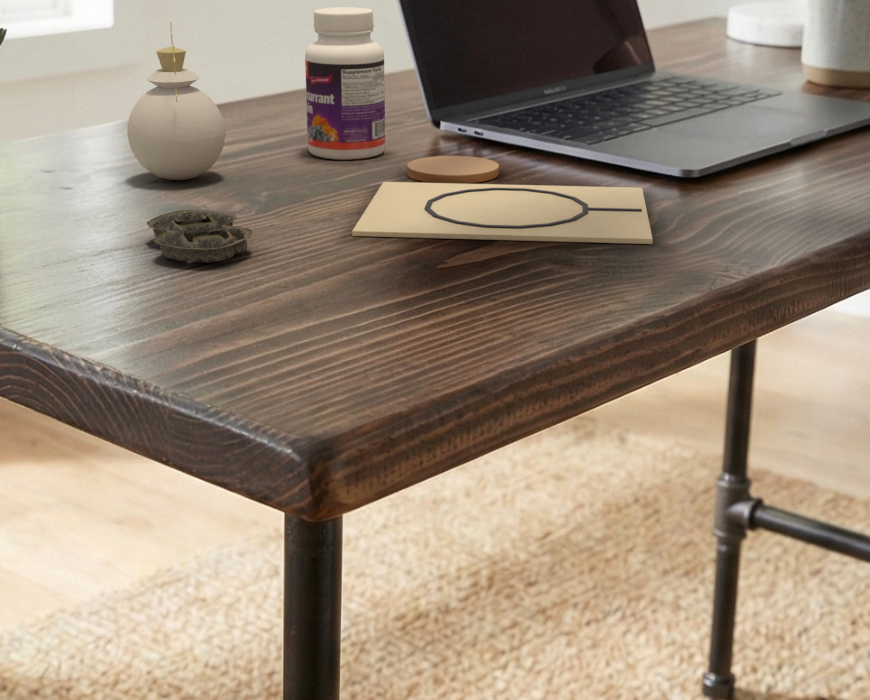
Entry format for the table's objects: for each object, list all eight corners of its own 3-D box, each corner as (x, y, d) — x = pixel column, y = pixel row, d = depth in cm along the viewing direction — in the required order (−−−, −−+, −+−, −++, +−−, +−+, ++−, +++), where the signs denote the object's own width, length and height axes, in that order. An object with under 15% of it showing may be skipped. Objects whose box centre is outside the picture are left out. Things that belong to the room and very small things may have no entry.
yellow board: (641, 192, 80) (642, 185, 79) (652, 244, 68) (652, 237, 68) (383, 186, 81) (383, 179, 81) (352, 236, 70) (352, 228, 70)
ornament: (223, 167, 86) (215, 12, 83) (233, 192, 80) (224, 25, 76) (130, 171, 85) (118, 14, 82) (132, 197, 78) (118, 27, 75)
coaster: (501, 165, 87) (501, 156, 87) (496, 185, 81) (496, 175, 81) (412, 163, 88) (412, 154, 87) (401, 183, 82) (401, 173, 82)
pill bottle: (295, 150, 92) (290, 8, 88) (363, 142, 94) (361, 4, 91) (328, 164, 87) (324, 15, 84) (398, 155, 90) (397, 11, 87)
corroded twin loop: (230, 223, 72) (229, 205, 72) (264, 261, 65) (263, 241, 64) (138, 231, 70) (137, 213, 70) (164, 271, 63) (162, 250, 63)
